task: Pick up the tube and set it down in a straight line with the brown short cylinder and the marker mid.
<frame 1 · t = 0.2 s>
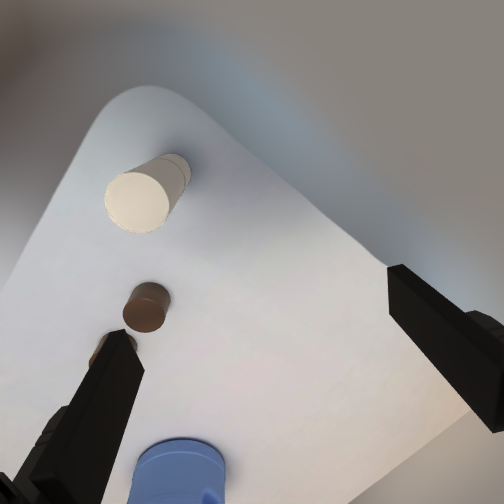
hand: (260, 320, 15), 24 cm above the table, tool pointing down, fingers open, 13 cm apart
brown short cylinder: (118, 345, 43), on the table
marker mid: (151, 298, 41), on the table
tube: (172, 172, 35), on the table
water jug: (181, 465, 54), on the table
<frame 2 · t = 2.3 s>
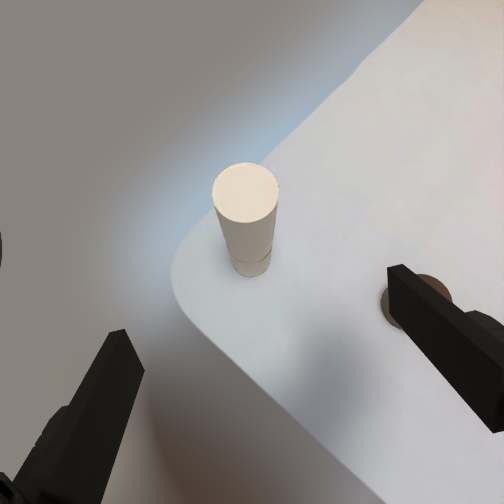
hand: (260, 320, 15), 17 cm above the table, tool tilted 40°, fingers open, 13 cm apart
marker mid: (405, 306, 32), on the table
tube: (251, 258, 34), on the table
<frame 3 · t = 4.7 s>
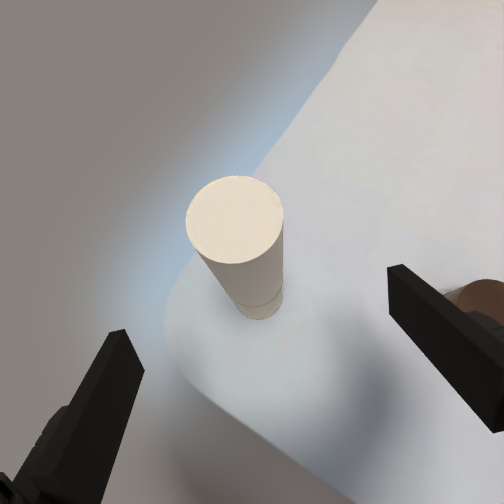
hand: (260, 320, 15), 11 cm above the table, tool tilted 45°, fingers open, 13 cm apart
marker mid: (464, 321, 25), on the table
tube: (258, 295, 27), on the table
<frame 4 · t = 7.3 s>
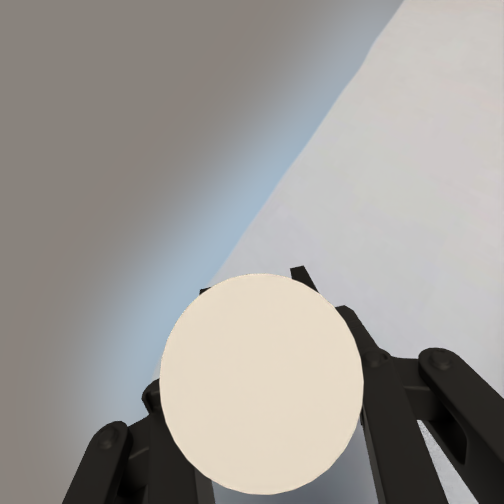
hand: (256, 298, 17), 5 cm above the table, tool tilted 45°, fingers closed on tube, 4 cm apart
tube: (275, 369, 20), on the table, touching gripper
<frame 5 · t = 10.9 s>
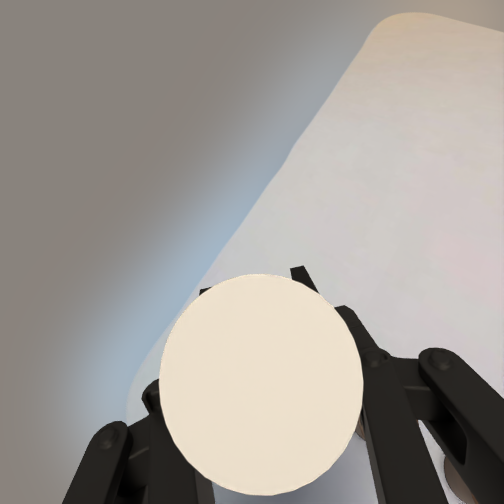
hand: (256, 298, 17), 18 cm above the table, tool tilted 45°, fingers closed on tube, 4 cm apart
brown short cylinder: (473, 473, 27), on the table
tube: (275, 369, 20), point 12 cm above the table, touching gripper
when the fingers open (5 cm above the table, at t = 14.6 s): tube stays where it is, on the table.
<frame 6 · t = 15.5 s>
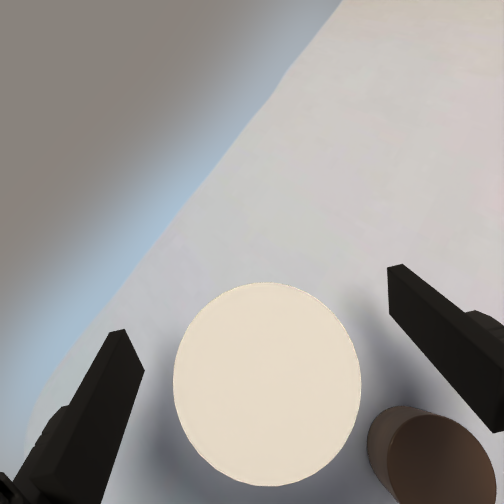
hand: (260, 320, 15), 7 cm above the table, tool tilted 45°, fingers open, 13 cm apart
marker mid: (409, 451, 18), on the table
tube: (277, 370, 21), on the table
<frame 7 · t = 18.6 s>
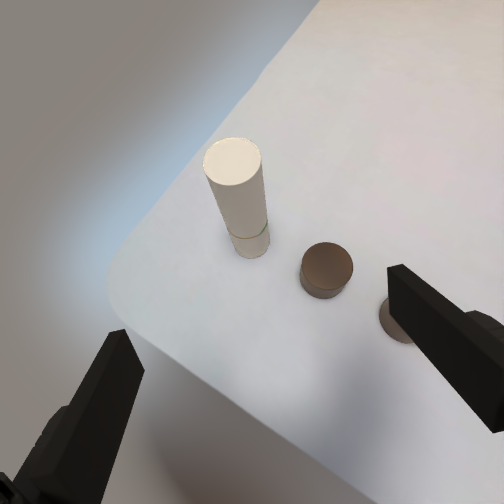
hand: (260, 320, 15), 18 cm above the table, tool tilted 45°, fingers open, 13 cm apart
brown short cylinder: (404, 318, 31), on the table
marker mid: (322, 276, 34), on the table
tube: (251, 242, 36), on the table
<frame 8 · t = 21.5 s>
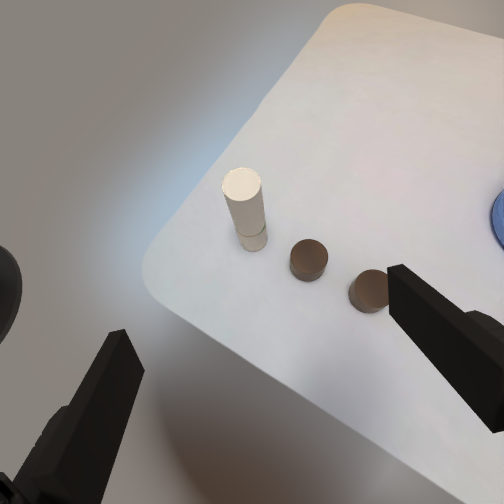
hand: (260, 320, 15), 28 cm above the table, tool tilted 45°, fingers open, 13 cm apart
brown short cylinder: (367, 295, 42), on the table
marker mid: (307, 265, 45), on the table
tube: (253, 239, 47), on the table
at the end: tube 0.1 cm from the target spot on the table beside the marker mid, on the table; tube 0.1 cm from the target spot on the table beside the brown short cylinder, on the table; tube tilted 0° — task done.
